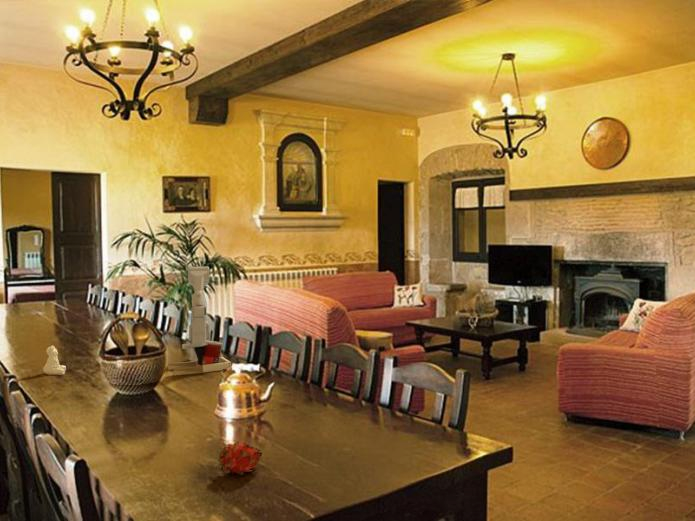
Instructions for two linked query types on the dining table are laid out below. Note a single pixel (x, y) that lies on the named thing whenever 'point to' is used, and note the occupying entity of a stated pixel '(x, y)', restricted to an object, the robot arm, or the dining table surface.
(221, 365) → the open frame
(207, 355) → the canned food
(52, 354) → the white creature statuette
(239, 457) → the dragon fruit
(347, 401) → the dining table surface
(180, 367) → the rail channel
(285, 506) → the dining table surface
